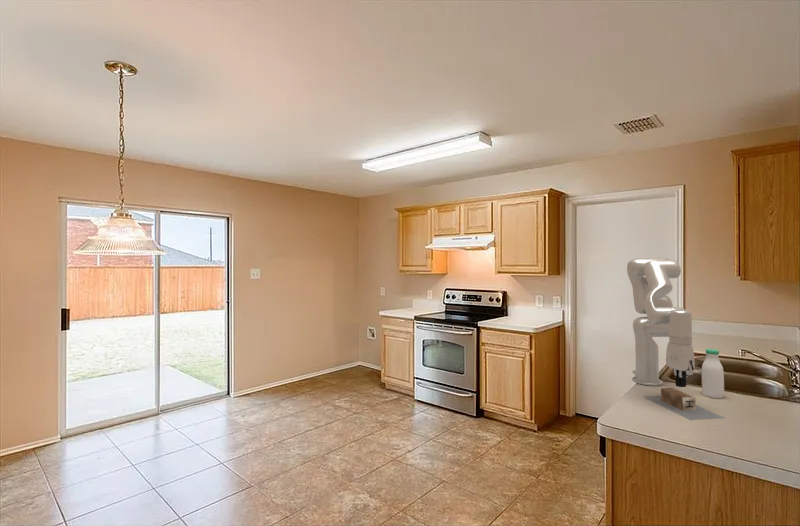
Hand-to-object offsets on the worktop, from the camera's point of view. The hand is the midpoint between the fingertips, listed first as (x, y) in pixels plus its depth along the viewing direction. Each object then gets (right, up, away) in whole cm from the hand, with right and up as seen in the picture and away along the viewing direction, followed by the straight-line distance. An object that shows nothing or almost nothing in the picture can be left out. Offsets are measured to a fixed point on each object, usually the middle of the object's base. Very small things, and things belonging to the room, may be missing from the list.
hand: (680, 386), depth 163 cm
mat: (0, -9, 0) cm, 9 cm away
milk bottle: (+23, -8, +13) cm, 28 cm away
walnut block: (0, -6, -4) cm, 7 cm away
